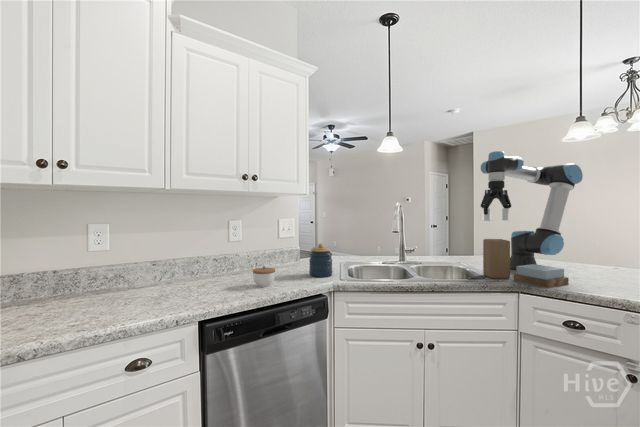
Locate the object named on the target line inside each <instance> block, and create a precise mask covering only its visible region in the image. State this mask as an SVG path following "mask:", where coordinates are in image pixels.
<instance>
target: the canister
mask: <svg viewBox="0 0 640 427" xmlns="http://www.w3.org/2000/svg"><path fill="white" fill-rule="evenodd" d="M331 251H332V249H330V248H329V247H327V246H324V245H323V243H318V245H317V246H315V247H313V248H310V253H309V254H308V255H309V260H308V261H309V272H308V273H309V276H310V277H313V278H314V277H315V278H329V277H331V276H332V275H333V259H332V256H333V253H332V252H331ZM328 276H329V277H328Z"/></svg>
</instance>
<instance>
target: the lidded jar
mask: <svg viewBox="0 0 640 427" xmlns="http://www.w3.org/2000/svg"><path fill="white" fill-rule="evenodd" d="M252 277H253V278H252V279H253V282H254V283H255V285H257V287H258V288H267V287H271V285H272V284H273V283H274V281H275V278H276V269H275V267H266V265H263V266H262V267H258V268H253V269H252Z"/></svg>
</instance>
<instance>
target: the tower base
mask: <svg viewBox="0 0 640 427" xmlns="http://www.w3.org/2000/svg"><path fill="white" fill-rule="evenodd" d="M513 281H515V282H518V283H519V282H520V283H524V282H525V284H528V283H530V284H529V285H534V286H537V287H542V288H553V287H560V286H565V285H569V281H570V280H569V276H568V277H567V276H564V277H561V278H554V279H547V280H545V279H540V278H534V277H529V276H524V275H519V274H516V273H513Z"/></svg>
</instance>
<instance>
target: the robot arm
mask: <svg viewBox="0 0 640 427" xmlns="http://www.w3.org/2000/svg"><path fill="white" fill-rule="evenodd" d="M487 158H488V159H487V160H486V161H483V162H482V163H481V164H480V171H481V173H482V174H484V175H488V176H487V178H488V182H487V183H488V184H487V185H488V186H487V187H488V189H485V190H484V195H483V198H482V200H481V203H480V208H482V209H483V215H484V218H483V220H484V221H485V222H487V221H488V222H490V221H491V216H490V215H491V213H490V212H491V209H490V208H489V207H490V206H491V205H492V203H493V201H494V199H495V200H496V199H497V200H498V201H499V202H500V204H501V205H502V207H503V208H502V210H501V211H502V214H501V215H502V218H501V220H502V221H509V209H510V208H512V203H511V201H510V197H509V193H508V190H507V189H504V188H505V181H504V180H505V177H509V178H514V179H519V180H524V181H526V182H528V183H531V184H536V185H541V186H549V188H550V191H549V193H548V197H547V198H548V199H547V202H546V205H545V209H544V213H543V215H542V220H541V222H540V226H539V227H536V229H535V231H534V230H516V231H512V232H511V237H510V270H516V266H523V265H531V264H537V265H538V263H537V260H536V258H535V254H538V255H539V254H540V255H544V256H556V255H558V254H559V253H561V251H562V250H563V249H564V246H565V241H564V237H563V236H562V233H561V232H560V226H561V223H562V219H563V215H564V212H565V209H566V205H567V201H568V198H569V196H570V191H572V190H574V189H575V185H577V184H579V183H581V182H582V181H583V177H584V176H583V171H582V169H581V166H579V165H578V164H576V163H565V164H556V165H550V166H544V167H543V166H542V167H537V166H531V167H530V166H529V167H528V166H524V164H525V162H524V159H523V158H522V157H520V156H510V155H509V156H508V155H506V154H505V152H504V151H503V150H502V151H501V150H498V151H497V150H496V151H492V152H489V153H488V157H487Z"/></svg>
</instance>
